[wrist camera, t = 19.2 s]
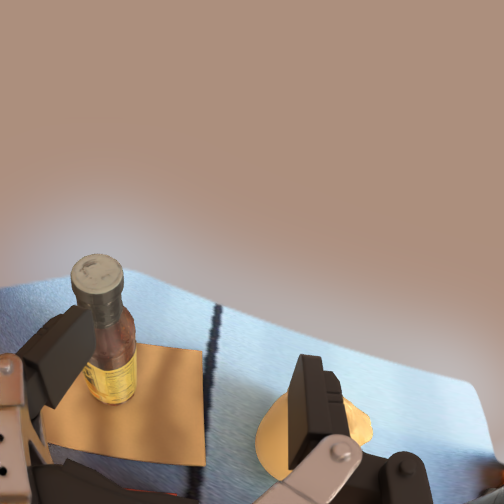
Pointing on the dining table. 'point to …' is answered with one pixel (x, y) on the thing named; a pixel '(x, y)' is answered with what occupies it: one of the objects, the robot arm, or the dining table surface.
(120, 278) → the sauce bottle
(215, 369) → the dining table surface
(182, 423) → the mat
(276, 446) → the tan rounded lump
